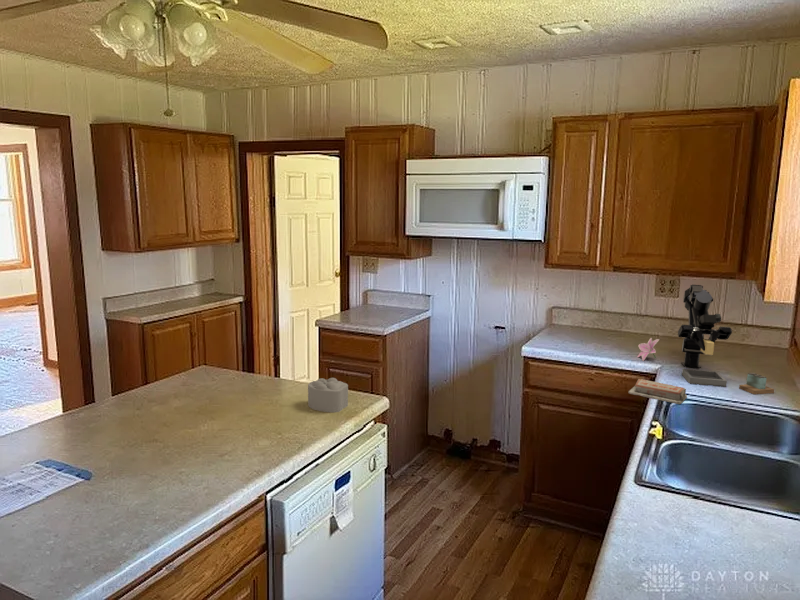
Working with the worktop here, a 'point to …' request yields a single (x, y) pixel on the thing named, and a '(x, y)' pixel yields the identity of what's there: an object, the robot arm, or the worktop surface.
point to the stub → (708, 347)
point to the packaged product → (659, 391)
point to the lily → (647, 348)
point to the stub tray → (704, 377)
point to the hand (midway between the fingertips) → (708, 350)
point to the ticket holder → (756, 384)
